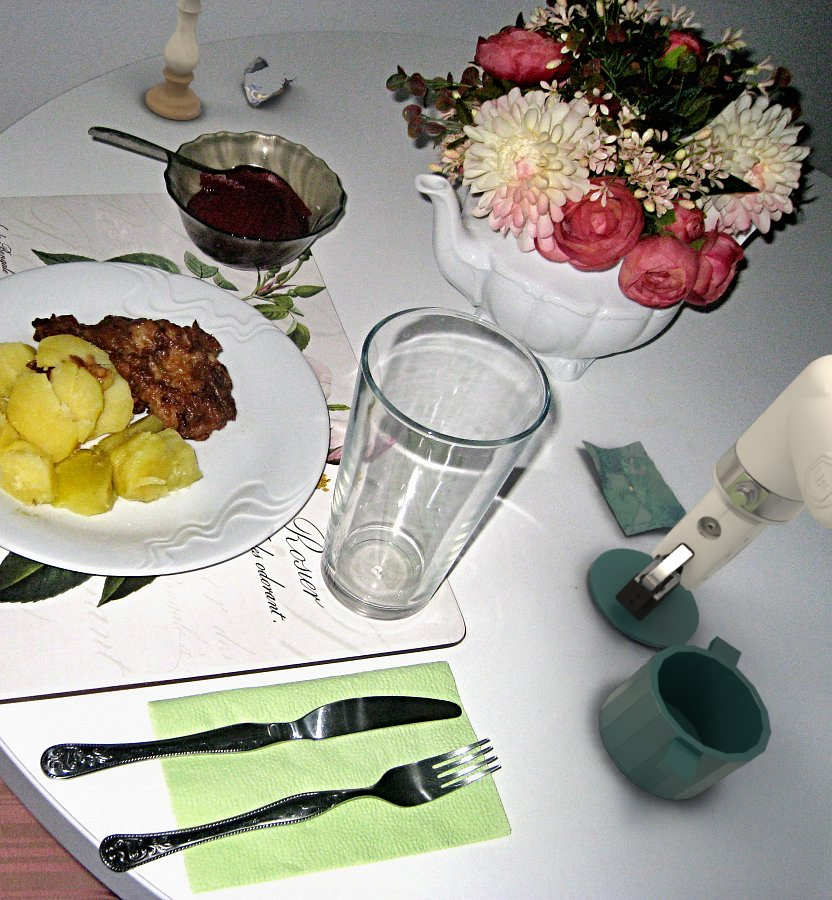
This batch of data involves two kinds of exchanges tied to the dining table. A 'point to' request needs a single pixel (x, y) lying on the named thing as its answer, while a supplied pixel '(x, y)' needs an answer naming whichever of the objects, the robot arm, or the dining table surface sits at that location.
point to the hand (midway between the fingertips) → (654, 587)
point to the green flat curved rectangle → (635, 488)
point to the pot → (685, 720)
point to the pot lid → (664, 622)
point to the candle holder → (179, 68)
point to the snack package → (257, 93)
